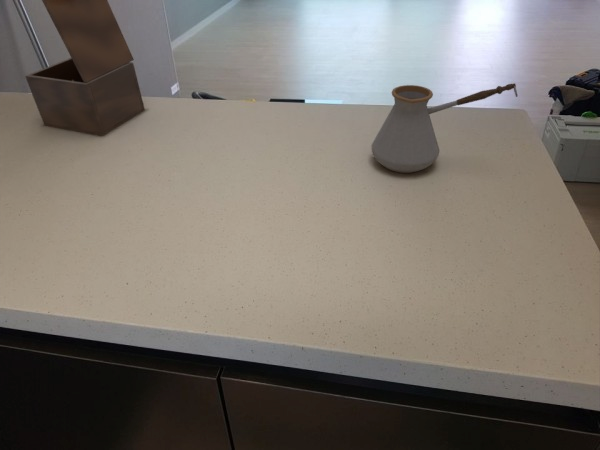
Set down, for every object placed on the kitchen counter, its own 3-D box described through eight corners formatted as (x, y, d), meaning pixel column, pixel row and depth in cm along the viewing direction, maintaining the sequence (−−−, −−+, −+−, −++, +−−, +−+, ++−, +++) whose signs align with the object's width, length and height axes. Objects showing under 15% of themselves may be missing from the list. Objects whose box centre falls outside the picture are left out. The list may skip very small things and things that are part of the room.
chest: (44, 126, 96) (24, 75, 90) (90, 102, 106) (75, 55, 100) (102, 137, 91) (86, 84, 85) (145, 111, 101) (133, 62, 95)
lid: (34, -13, 76) (54, -21, 74) (92, -27, 86) (111, -34, 84) (84, 82, 85) (103, 78, 82) (131, 60, 95) (149, 56, 92)
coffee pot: (367, 177, 77) (373, 90, 68) (373, 145, 86) (379, 65, 76) (501, 188, 73) (527, 98, 64) (492, 154, 82) (514, 71, 73)
